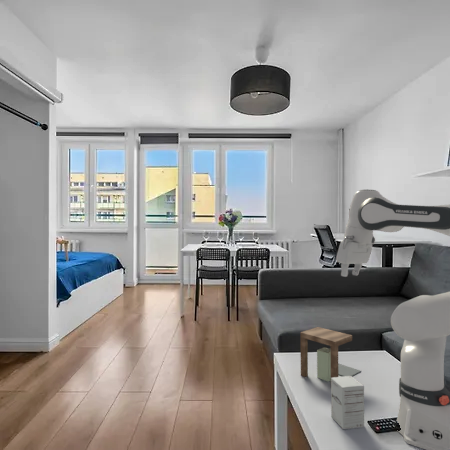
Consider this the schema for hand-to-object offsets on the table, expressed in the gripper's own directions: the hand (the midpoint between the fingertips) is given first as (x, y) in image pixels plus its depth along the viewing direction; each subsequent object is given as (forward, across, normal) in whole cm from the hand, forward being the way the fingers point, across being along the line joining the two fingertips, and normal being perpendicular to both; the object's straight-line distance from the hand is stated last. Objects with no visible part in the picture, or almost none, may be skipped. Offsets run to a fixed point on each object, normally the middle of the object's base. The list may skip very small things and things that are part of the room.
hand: (349, 275), depth 122 cm
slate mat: (+44, +26, +5) cm, 51 cm away
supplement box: (+43, -11, -13) cm, 46 cm away
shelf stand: (+44, +15, +7) cm, 48 cm away
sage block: (+45, +15, +7) cm, 48 cm away
